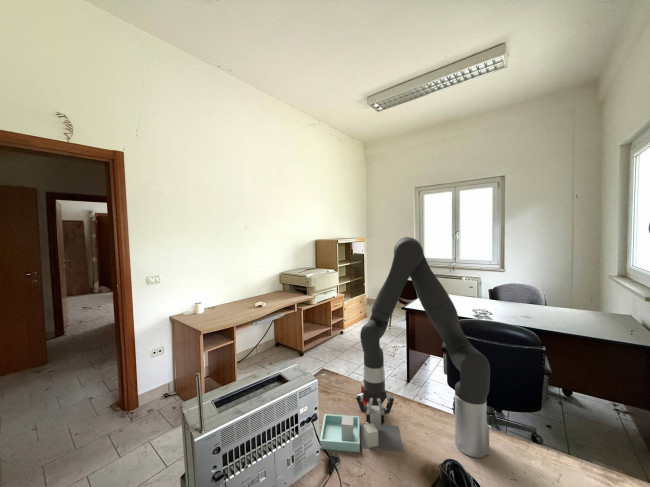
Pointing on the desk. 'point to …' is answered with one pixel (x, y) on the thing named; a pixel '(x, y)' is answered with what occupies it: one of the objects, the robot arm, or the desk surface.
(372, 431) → the stone
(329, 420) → the bin
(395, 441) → the mat
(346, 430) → the stone
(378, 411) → the stone
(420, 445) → the desk surface
